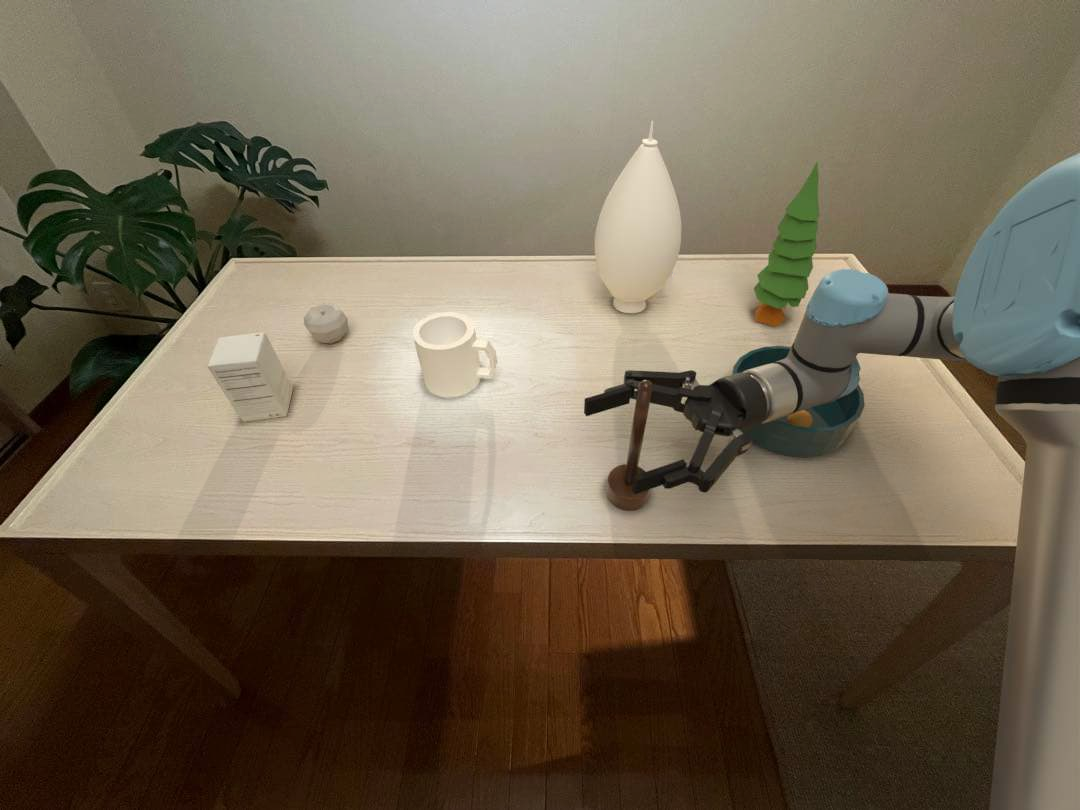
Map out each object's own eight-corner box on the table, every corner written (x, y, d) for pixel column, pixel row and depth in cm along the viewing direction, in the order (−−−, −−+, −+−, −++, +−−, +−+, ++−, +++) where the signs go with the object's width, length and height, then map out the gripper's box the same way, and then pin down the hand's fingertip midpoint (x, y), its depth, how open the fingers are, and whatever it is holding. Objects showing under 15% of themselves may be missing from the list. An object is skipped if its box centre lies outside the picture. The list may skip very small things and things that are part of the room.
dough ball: (821, 428, 80) (814, 407, 79) (801, 437, 79) (794, 416, 79) (804, 426, 83) (798, 405, 83) (785, 434, 83) (779, 413, 82)
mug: (504, 363, 96) (500, 315, 88) (492, 402, 89) (486, 354, 81) (433, 356, 98) (423, 309, 90) (416, 394, 90) (403, 346, 83)
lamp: (586, 284, 114) (596, 106, 89) (659, 281, 114) (688, 103, 89) (596, 329, 102) (609, 139, 78) (676, 325, 103) (715, 135, 78)
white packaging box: (251, 392, 92) (217, 335, 83) (294, 387, 92) (266, 330, 83) (241, 423, 86) (204, 366, 77) (287, 417, 87) (256, 360, 78)
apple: (309, 353, 99) (297, 326, 94) (312, 329, 104) (301, 301, 100) (353, 347, 100) (343, 319, 95) (353, 323, 105) (344, 295, 101)
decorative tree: (743, 302, 108) (790, 150, 86) (790, 304, 107) (849, 151, 86) (752, 331, 101) (805, 173, 80) (802, 333, 100) (870, 175, 79)
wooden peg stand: (655, 503, 74) (683, 391, 58) (618, 516, 73) (635, 406, 57) (635, 471, 78) (656, 359, 62) (599, 483, 77) (611, 372, 61)
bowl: (876, 436, 82) (894, 409, 78) (773, 473, 77) (786, 447, 73) (793, 361, 95) (804, 335, 90) (700, 389, 90) (707, 363, 86)
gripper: (805, 485, 64) (654, 542, 59) (693, 363, 81) (568, 399, 76) (828, 446, 59) (664, 505, 54) (703, 323, 75) (569, 360, 70)
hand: (607, 443), depth 65 cm, fingers open, 13 cm apart
